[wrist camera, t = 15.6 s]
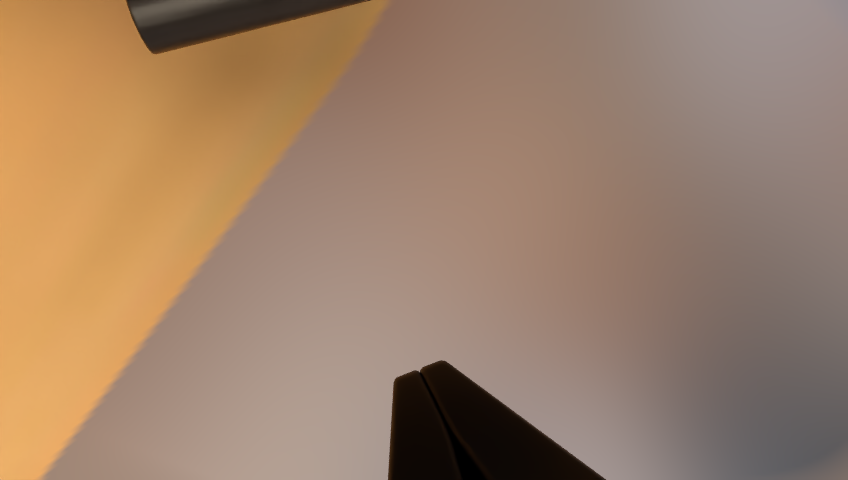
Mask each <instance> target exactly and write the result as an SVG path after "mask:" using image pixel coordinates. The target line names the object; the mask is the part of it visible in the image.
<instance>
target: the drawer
mask: <svg viewBox="0 0 848 480" xmlns="http://www.w3.org/2000/svg"><path fill="white" fill-rule="evenodd" d="M126 1H127V5H128V8H129V11H130V14H131V16H132V19H133V21H134V23H135V26H136V28H137V30H138V32H139V34H140V36H141V38H142V40H143V41H144V43H145V45H146V46H147V48H148V49H149V50H150V51H151V53H153V54H160V53H164V52H168V51H172V50H176V49H179V48H183V47H187V46H191V45H195V44H199V43H203V42H207V41H211V40H215V39H219V38H223V37H227V36H231V35H235V34H239V33H243V32H247V31H251V30H255V29H259V28H263V27H267V26H271V25H275V24H279V23H283V22H287V21H291V20H294V19H298V18H302V17H306V16H310V15H314V14H318V13H322V12H326V11H330V10H334V9H338V8H342V7H346V6H350V5H354V4H358V3H362V2H366V1H370V0H126Z"/></svg>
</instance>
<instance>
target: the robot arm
mask: <svg viewBox="0 0 848 480" xmlns="http://www.w3.org/2000/svg"><path fill="white" fill-rule="evenodd" d="M388 480H606V479H604V478H603V477H602V476H600V475H599V474H598V473H596V472H595V471H594V470H592V469H591V468H589V467H588V466H586V465H585V464H584V463H583V462H581V461H580V460H579V459H577V458H576V457H575V456H573V455H572V454H570V453H569V452H568V451H567V450H565V449H564V448H562V447H561V446H560V445H558V444H557V443H556V442H554V441H553V440H552V439H550V438H549V437H548V436H546V435H545V434H544V433H542V432H541V431H539V430H538V429H537V428H535V427H534V426H533V425H531V424H530V423H529V422H527V421H526V420H525V419H523V418H522V417H521V416H519V415H518V414H516V413H515V412H514V411H512V410H511V409H510V408H508V407H507V406H506V405H504V404H503V403H502V402H500V401H499V400H498V399H496V398H495V397H493V396H492V395H491V394H489V393H488V392H487V391H485V390H484V389H483V388H481V387H480V386H478V385H477V384H476V383H475V382H473V381H472V380H470V379H469V378H468V377H466V376H465V375H464V374H462V373H461V372H460V371H458V370H457V369H456V368H454V367H453V366H452V365H450V364H449V363H447V362H446V361H438V362H435V363H433V364H430V365H427V366H425V367H423V368H422V369H421V370H420V372H419V371H412V372H410V373H407V374H404V375H402V376H400V377H397V378H396V379H395V381H394V387H393V403H392V421H391V439H390V455H389V473H388Z"/></svg>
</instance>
